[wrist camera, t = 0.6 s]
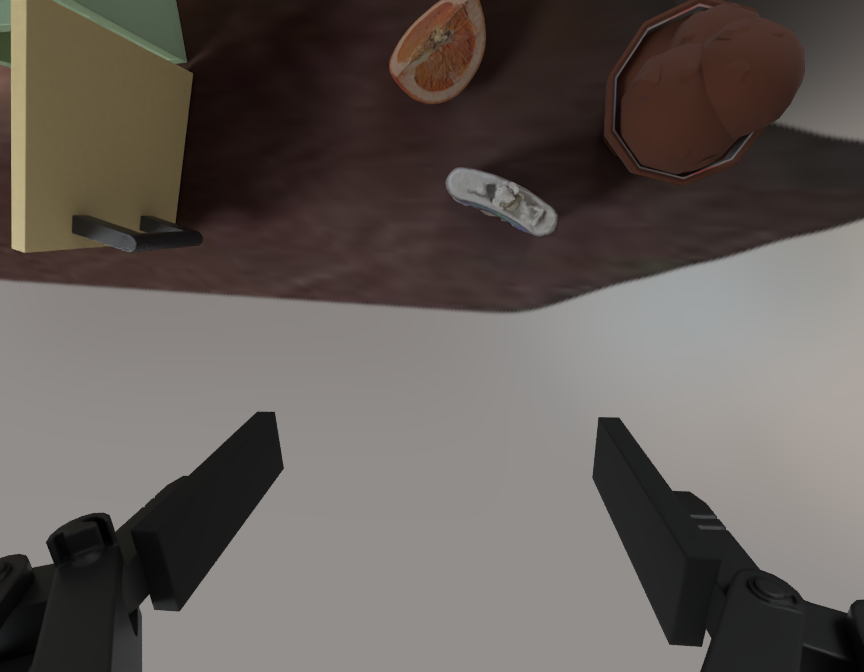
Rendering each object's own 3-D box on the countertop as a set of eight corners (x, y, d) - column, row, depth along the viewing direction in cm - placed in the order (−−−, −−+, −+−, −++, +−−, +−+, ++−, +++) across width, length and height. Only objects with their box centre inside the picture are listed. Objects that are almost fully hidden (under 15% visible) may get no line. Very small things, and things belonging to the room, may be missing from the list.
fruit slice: (452, -10, 34) (449, -47, 29) (502, 57, 35) (507, 32, 30) (381, 67, 36) (367, 45, 31) (430, 129, 37) (424, 116, 32)
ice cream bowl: (653, 24, 33) (793, -123, 19) (724, 135, 35) (902, 78, 21) (547, 118, 36) (599, 52, 22) (618, 217, 38) (710, 217, 23)
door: (246, 91, 37) (112, 15, 23) (220, 257, 42) (95, 277, 28) (183, 70, 37) (10, -19, 23) (164, 238, 42) (11, 248, 28)
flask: (446, 197, 38) (438, 190, 28) (459, 167, 38) (456, 148, 27) (533, 237, 39) (556, 244, 29) (548, 208, 38) (577, 205, 28)
